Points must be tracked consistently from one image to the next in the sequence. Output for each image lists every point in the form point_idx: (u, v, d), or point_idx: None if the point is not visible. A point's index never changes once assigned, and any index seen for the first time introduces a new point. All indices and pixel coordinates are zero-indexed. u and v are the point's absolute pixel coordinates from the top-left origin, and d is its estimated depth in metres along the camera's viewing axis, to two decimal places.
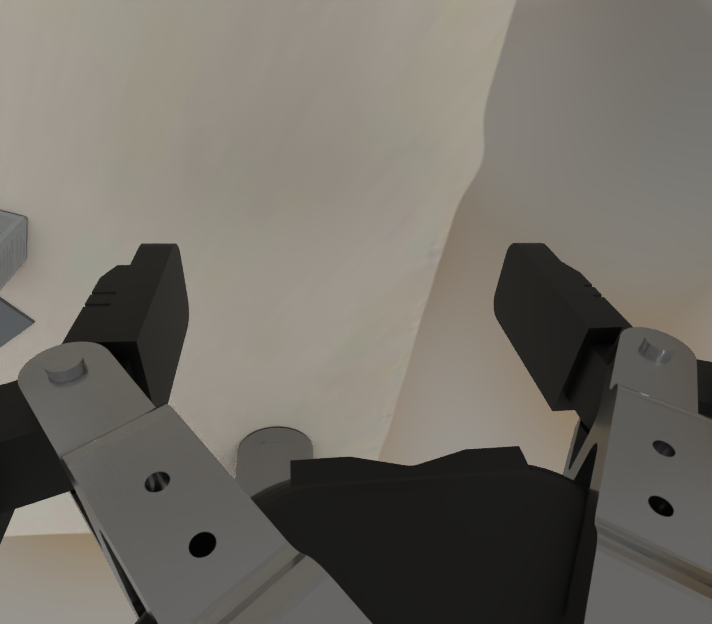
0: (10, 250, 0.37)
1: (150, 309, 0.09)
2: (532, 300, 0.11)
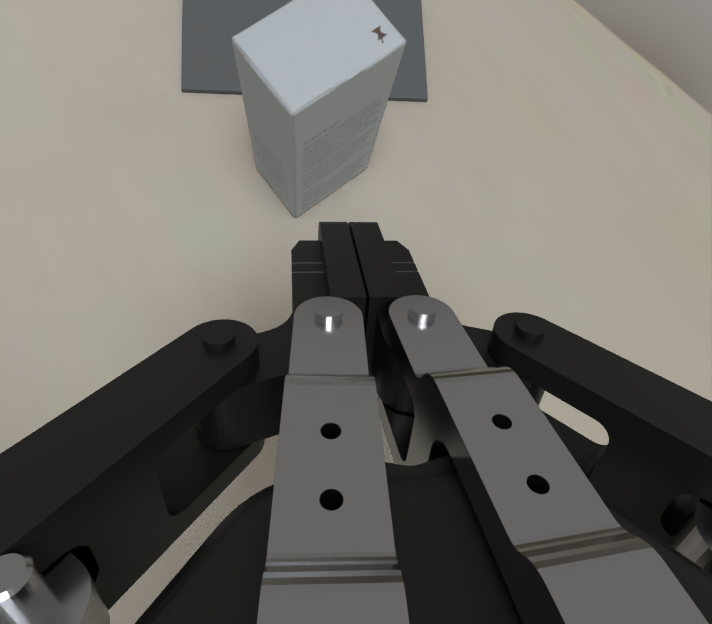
0: (280, 181, 0.27)
1: (359, 274, 0.10)
2: None
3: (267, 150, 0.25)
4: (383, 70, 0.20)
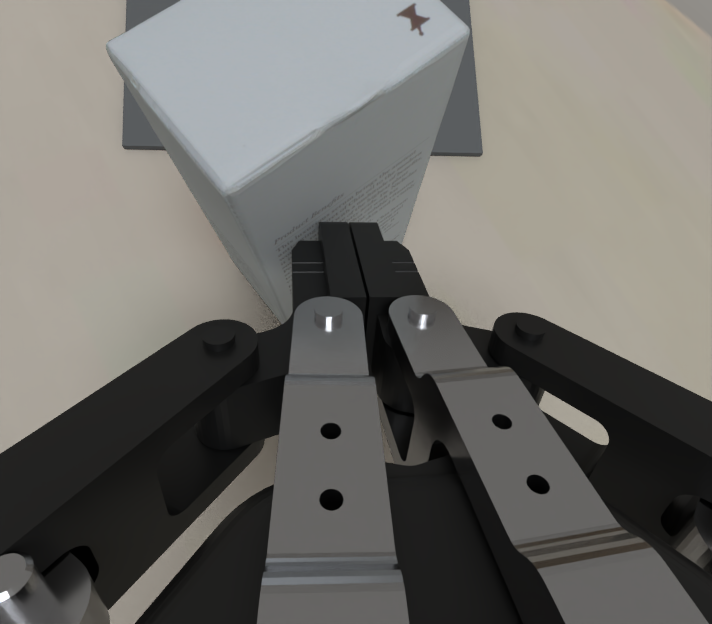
0: (259, 289, 0.17)
1: (359, 274, 0.10)
2: None
3: (230, 245, 0.15)
4: (424, 93, 0.10)
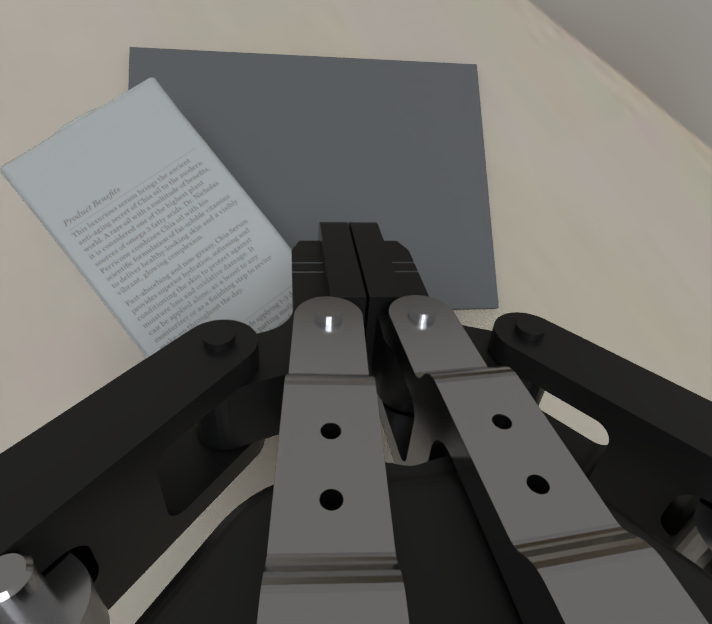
0: None
1: (359, 274, 0.10)
2: None
3: None
4: (141, 111, 0.16)
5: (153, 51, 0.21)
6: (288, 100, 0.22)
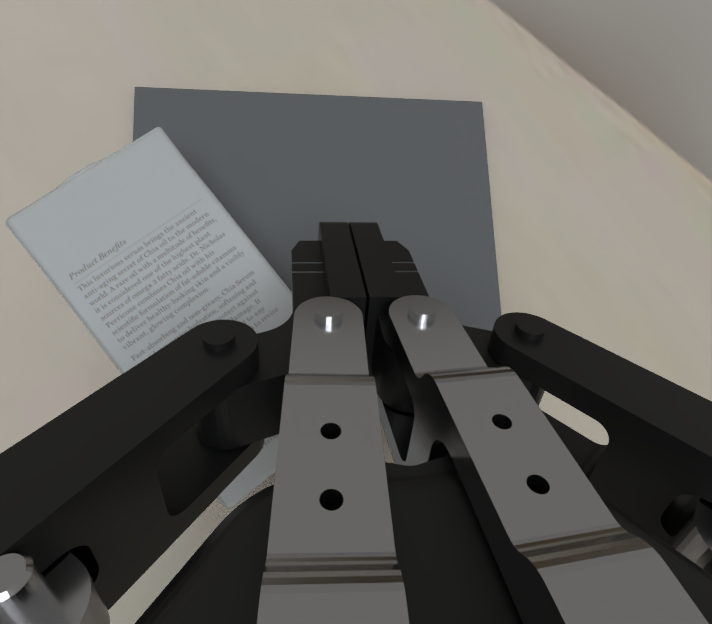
0: None
1: (359, 274, 0.10)
2: None
3: None
4: (147, 162, 0.16)
5: (158, 91, 0.21)
6: (293, 139, 0.22)
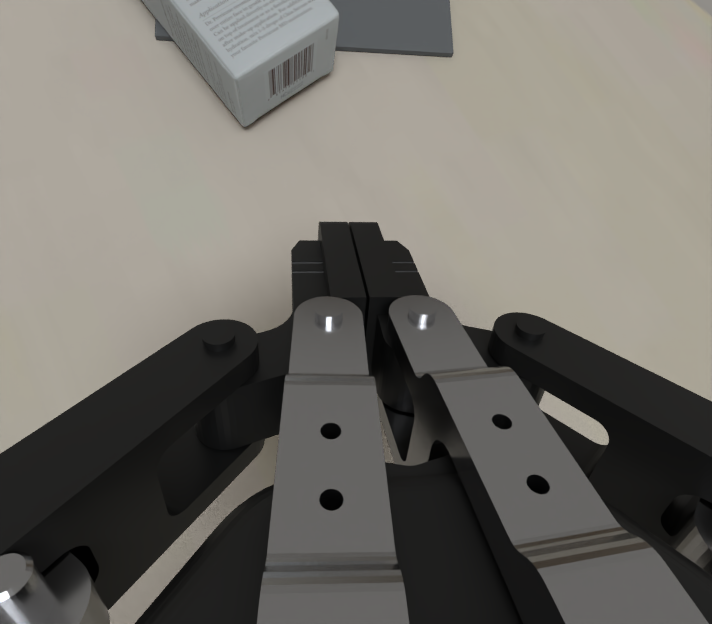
0: (193, 42, 0.22)
1: (358, 274, 0.10)
2: None
3: (171, 24, 0.23)
4: None
5: None
6: None
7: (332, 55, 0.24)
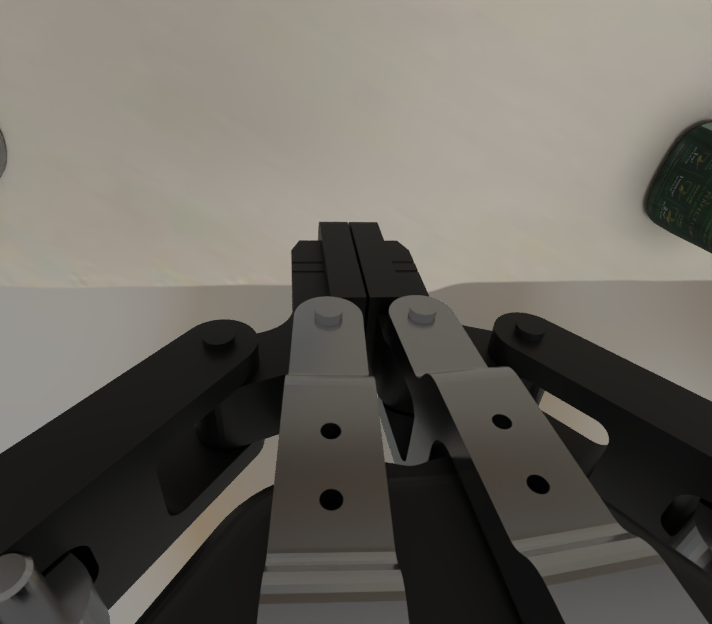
0: None
1: (358, 274, 0.10)
2: None
3: None
4: None
5: None
6: None
7: None
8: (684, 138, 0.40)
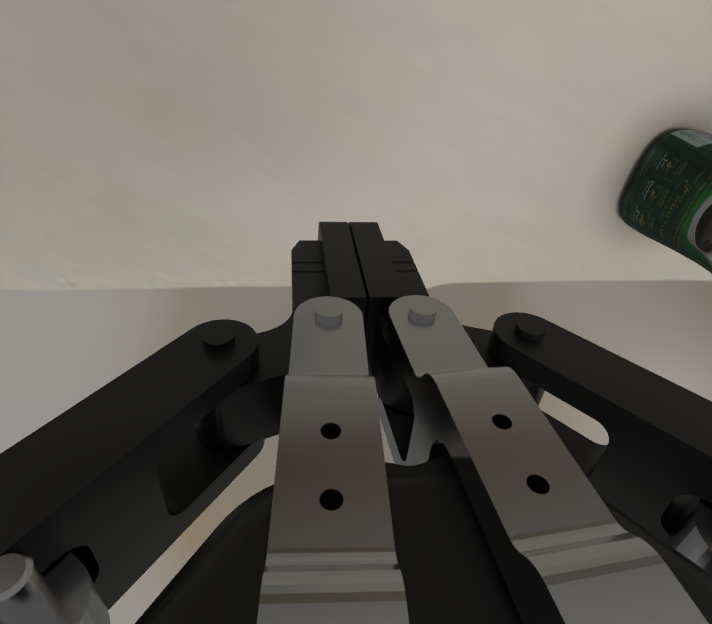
0: None
1: (359, 274, 0.10)
2: None
3: None
4: None
5: None
6: None
7: None
8: (655, 145, 0.42)
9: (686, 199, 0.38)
